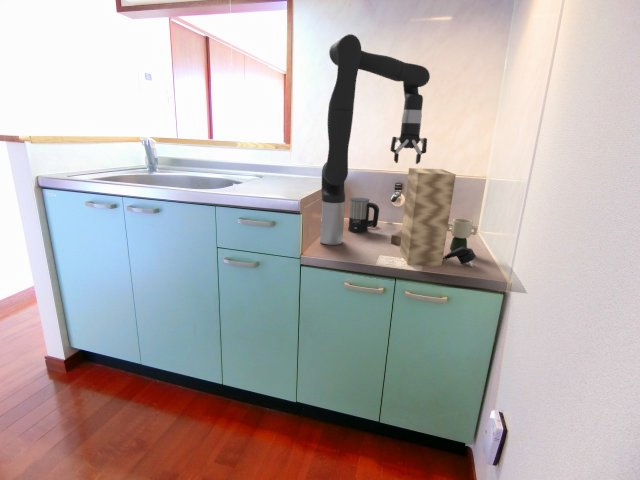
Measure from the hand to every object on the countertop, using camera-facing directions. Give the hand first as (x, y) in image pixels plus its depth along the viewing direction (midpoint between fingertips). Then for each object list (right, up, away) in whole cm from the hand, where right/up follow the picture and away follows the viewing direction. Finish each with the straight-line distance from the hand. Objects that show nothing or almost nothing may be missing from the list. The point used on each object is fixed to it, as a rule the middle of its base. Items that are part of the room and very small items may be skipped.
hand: (406, 163), depth 144 cm
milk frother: (-16, -27, +20) cm, 37 cm away
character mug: (+18, -37, -8) cm, 42 cm away
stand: (+1, -39, -15) cm, 42 cm away
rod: (+2, -32, +8) cm, 33 cm away
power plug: (+13, -41, -20) cm, 47 cm away
